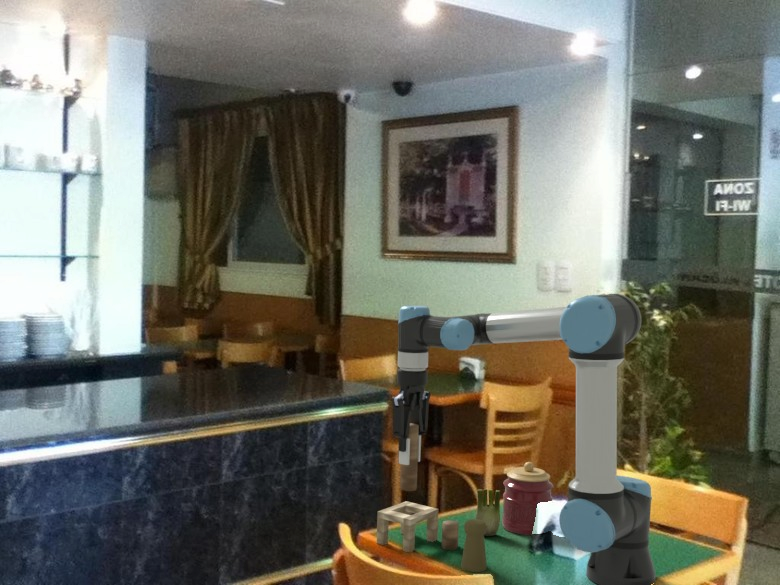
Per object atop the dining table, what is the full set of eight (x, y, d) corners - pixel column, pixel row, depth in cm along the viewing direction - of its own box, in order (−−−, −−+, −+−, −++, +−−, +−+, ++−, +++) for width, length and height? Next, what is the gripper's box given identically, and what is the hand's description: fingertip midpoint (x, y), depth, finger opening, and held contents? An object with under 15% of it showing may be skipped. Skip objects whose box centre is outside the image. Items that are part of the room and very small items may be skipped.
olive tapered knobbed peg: (485, 572, 216) (487, 525, 216) (459, 570, 218) (460, 523, 217) (488, 563, 222) (490, 517, 222) (462, 561, 224) (464, 515, 223)
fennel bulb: (500, 534, 244) (502, 488, 243) (492, 539, 240) (494, 493, 239) (480, 530, 247) (481, 485, 246) (472, 535, 243) (473, 489, 242)
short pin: (461, 546, 234) (461, 522, 234) (452, 550, 231) (452, 526, 230) (447, 543, 236) (448, 519, 236) (438, 547, 233) (439, 523, 233)
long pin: (419, 488, 236) (421, 424, 235) (410, 491, 233) (412, 427, 232) (406, 485, 238) (408, 422, 237) (397, 488, 235) (399, 424, 234)
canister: (492, 523, 253) (494, 458, 252) (533, 518, 259) (536, 454, 258) (519, 538, 241) (521, 470, 240) (561, 532, 247) (564, 465, 246)
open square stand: (437, 540, 238) (438, 508, 238) (409, 552, 229) (410, 519, 228) (405, 531, 244) (406, 501, 244) (376, 543, 235) (377, 511, 234)
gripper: (419, 363, 242) (417, 453, 244) (379, 370, 229) (376, 466, 230) (444, 366, 238) (441, 458, 240) (404, 373, 224) (401, 471, 226)
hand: (409, 462), depth 235 cm, fingers closed on long pin, 4 cm apart
